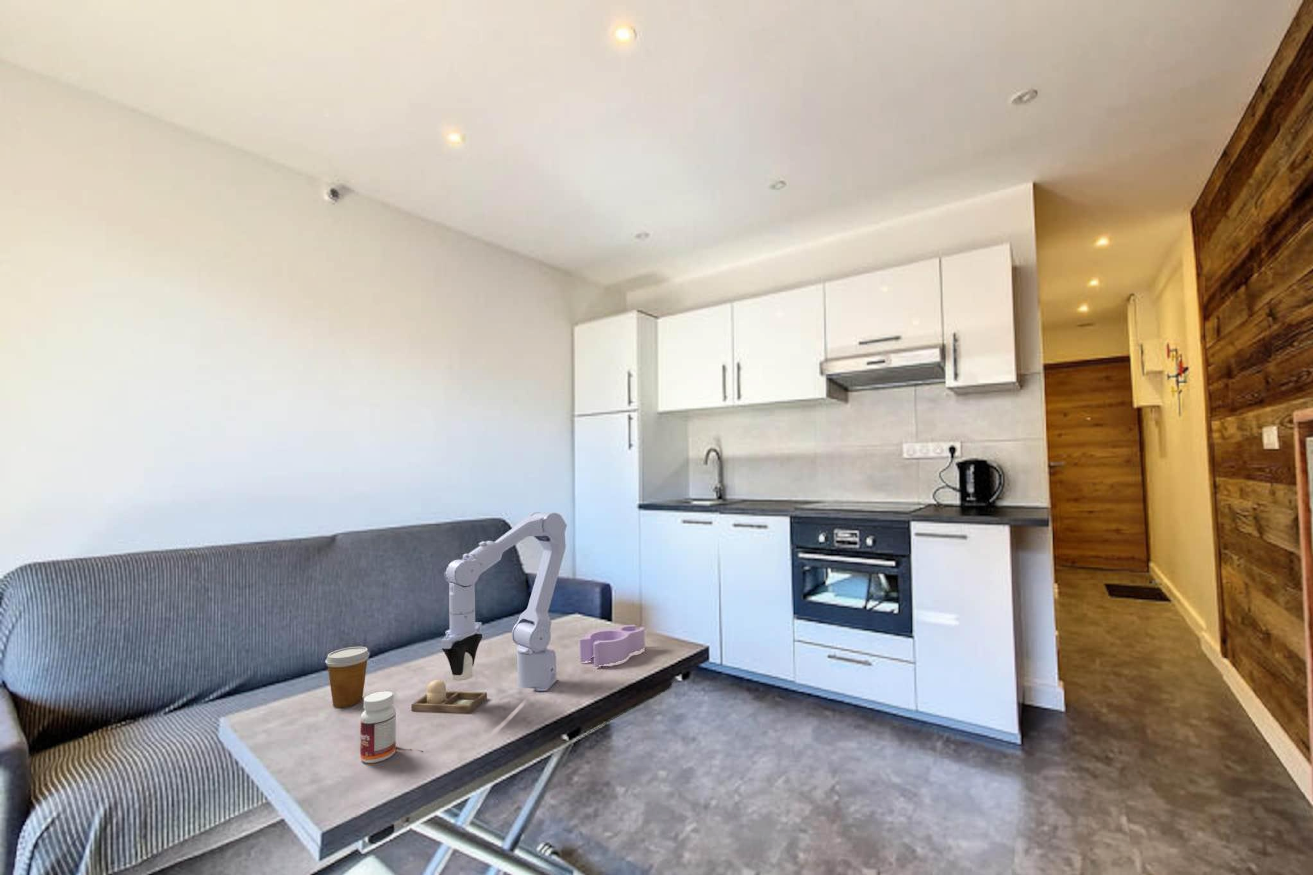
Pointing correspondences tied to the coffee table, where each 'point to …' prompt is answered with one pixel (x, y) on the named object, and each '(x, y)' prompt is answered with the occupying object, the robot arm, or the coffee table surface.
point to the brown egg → (436, 692)
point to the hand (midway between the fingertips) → (463, 670)
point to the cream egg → (465, 669)
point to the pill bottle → (378, 728)
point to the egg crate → (451, 698)
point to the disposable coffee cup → (347, 675)
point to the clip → (611, 644)
